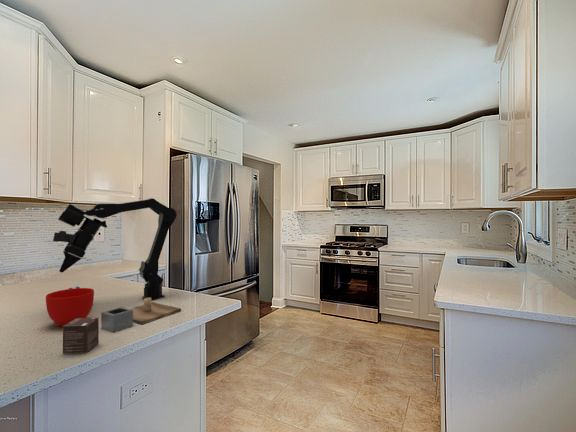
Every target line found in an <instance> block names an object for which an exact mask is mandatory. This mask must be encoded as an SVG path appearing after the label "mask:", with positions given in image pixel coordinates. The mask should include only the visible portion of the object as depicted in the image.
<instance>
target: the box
mask: <svg viewBox="0 0 576 432" xmlns="http://www.w3.org/2000/svg"><path fill="white" fill-rule="evenodd" d="M99 327H100V325H99V317H86V318H76V319H74V320H72V321H71V322H69V323H67V324H65V325H64V326H63V327H62V354H64V355H70V354H88V353H89V351H91V350H92V349H93V348H95V347H96V345H98V344H99V341H100V340H99V338H100V337H99Z"/></svg>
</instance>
